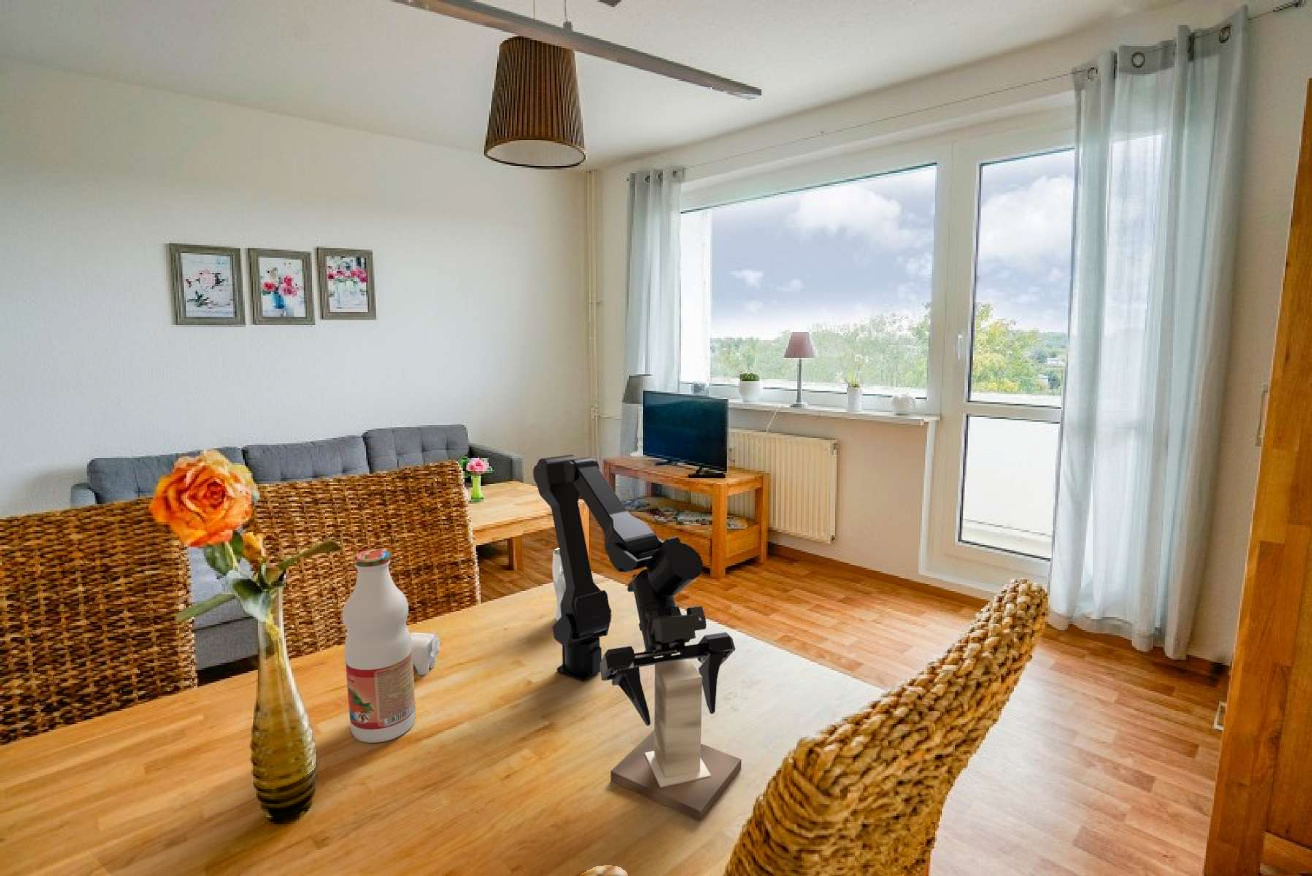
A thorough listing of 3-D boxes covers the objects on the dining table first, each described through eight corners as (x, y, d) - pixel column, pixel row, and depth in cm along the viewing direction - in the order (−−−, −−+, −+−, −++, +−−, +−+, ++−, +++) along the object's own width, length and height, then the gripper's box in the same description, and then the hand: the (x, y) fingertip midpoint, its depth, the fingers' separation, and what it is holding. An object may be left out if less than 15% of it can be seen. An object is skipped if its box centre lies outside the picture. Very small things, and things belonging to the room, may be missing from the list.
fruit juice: (413, 739, 100) (402, 562, 95) (345, 749, 97) (330, 568, 93) (418, 704, 109) (408, 541, 104) (356, 713, 106) (343, 546, 101)
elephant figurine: (453, 655, 125) (451, 620, 124) (427, 682, 116) (425, 644, 114) (416, 651, 126) (414, 616, 125) (387, 678, 117) (384, 640, 116)
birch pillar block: (654, 755, 94) (654, 664, 91) (687, 749, 95) (688, 658, 93) (665, 778, 89) (666, 682, 87) (700, 771, 91) (702, 676, 88)
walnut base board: (610, 780, 91) (610, 769, 91) (657, 735, 101) (657, 725, 101) (700, 821, 84) (700, 809, 83) (741, 768, 94) (741, 758, 93)
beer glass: (580, 627, 137) (579, 558, 134) (548, 624, 138) (547, 555, 135) (590, 613, 143) (590, 546, 141) (560, 610, 145) (558, 544, 142)
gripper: (603, 595, 89) (625, 716, 80) (731, 579, 94) (764, 691, 86) (591, 624, 98) (610, 736, 89) (709, 608, 103) (737, 713, 95)
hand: (681, 719), depth 90 cm, fingers open, 9 cm apart
